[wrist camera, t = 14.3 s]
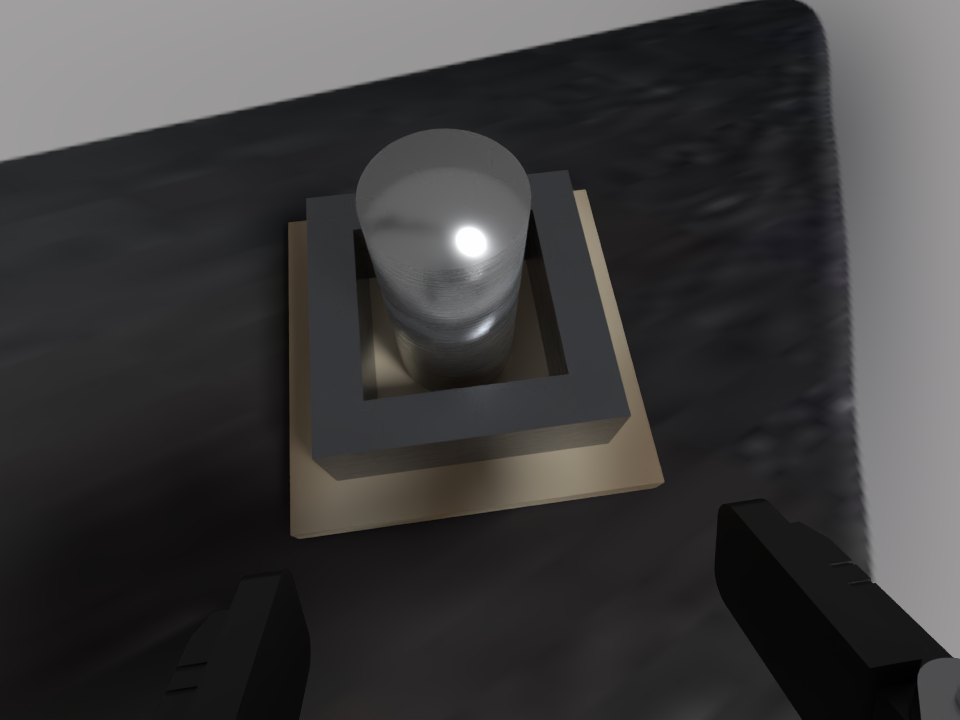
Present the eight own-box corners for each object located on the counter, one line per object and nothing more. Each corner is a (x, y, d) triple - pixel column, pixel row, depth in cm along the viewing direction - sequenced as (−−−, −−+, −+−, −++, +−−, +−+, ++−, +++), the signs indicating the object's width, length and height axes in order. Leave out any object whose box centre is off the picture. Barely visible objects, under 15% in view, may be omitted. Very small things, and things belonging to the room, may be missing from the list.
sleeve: (336, 481, 18) (311, 459, 15) (327, 249, 22) (306, 198, 19) (608, 443, 19) (631, 415, 16) (556, 223, 22) (567, 169, 20)
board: (299, 539, 18) (290, 535, 18) (295, 237, 23) (288, 222, 22) (655, 487, 19) (664, 481, 18) (581, 205, 24) (585, 189, 23)
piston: (403, 402, 19) (358, 278, 12) (396, 301, 21) (352, 136, 14) (519, 389, 19) (544, 259, 12) (503, 289, 21) (517, 121, 14)
